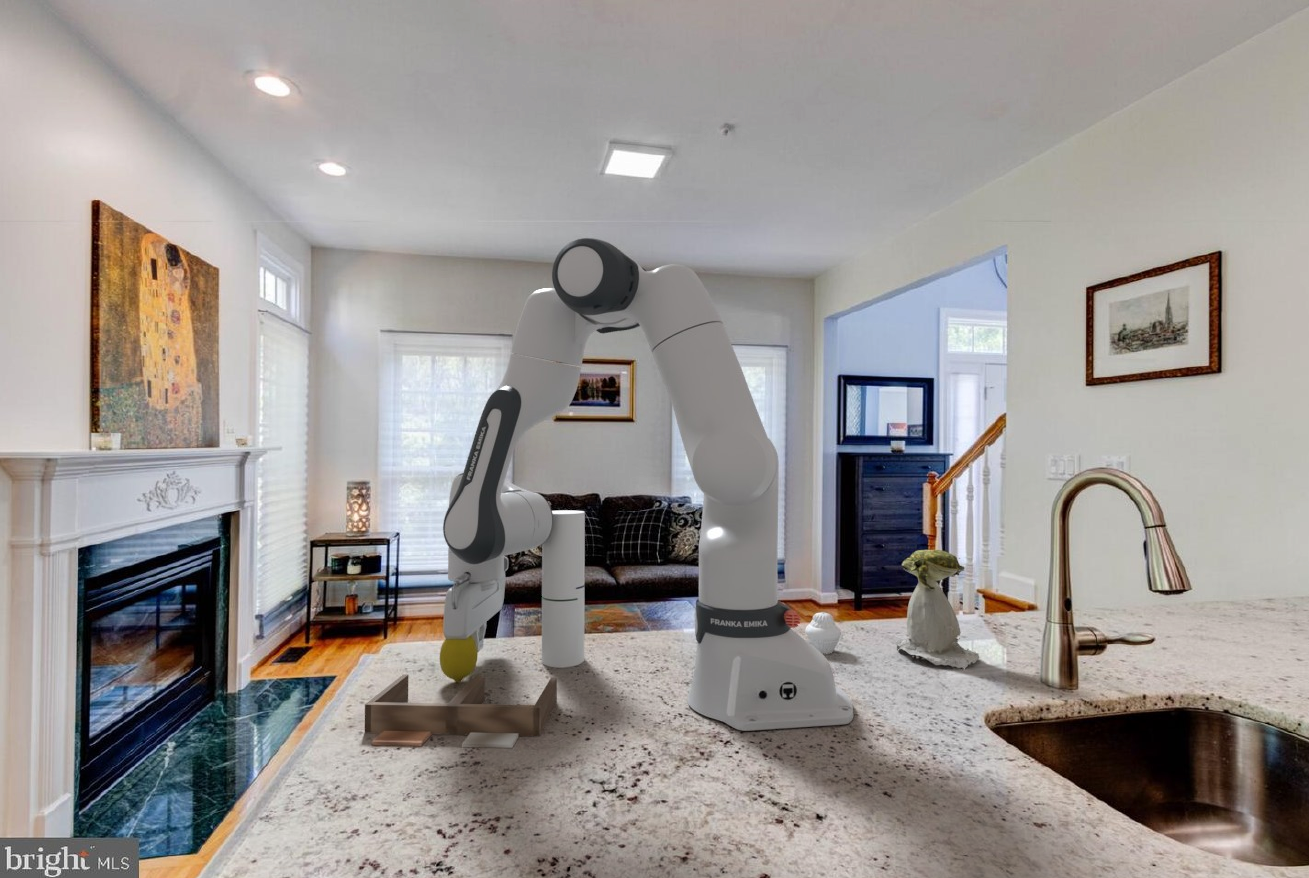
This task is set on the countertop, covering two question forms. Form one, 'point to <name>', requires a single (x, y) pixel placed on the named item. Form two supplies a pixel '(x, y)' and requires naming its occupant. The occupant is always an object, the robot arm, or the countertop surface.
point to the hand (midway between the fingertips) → (475, 651)
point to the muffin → (823, 632)
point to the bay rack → (455, 716)
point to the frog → (934, 611)
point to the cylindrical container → (564, 590)
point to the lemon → (458, 658)
